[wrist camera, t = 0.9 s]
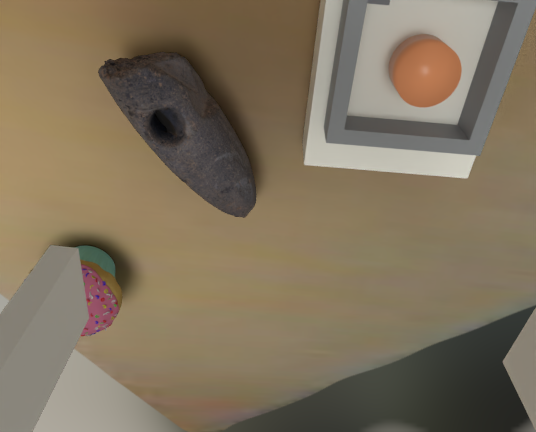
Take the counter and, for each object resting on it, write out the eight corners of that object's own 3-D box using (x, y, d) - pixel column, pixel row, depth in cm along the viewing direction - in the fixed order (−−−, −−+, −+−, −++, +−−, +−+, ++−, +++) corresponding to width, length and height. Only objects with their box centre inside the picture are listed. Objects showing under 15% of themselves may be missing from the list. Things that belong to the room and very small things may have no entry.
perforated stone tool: (277, 179, 38) (276, 227, 33) (225, 204, 40) (215, 254, 34) (172, 13, 31) (147, 36, 25) (114, 51, 33) (78, 81, 27)
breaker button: (396, 31, 26) (404, 40, 24) (457, 36, 26) (470, 46, 24) (382, 91, 28) (389, 104, 26) (439, 96, 28) (450, 110, 27)
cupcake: (86, 214, 41) (21, 312, 31) (153, 272, 45) (115, 376, 35) (29, 257, 44) (-46, 358, 34) (96, 308, 48) (46, 413, 38)
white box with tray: (333, -103, 27) (345, -106, 22) (531, -85, 27) (591, -84, 22) (302, 141, 36) (305, 181, 31) (451, 153, 36) (479, 196, 31)
